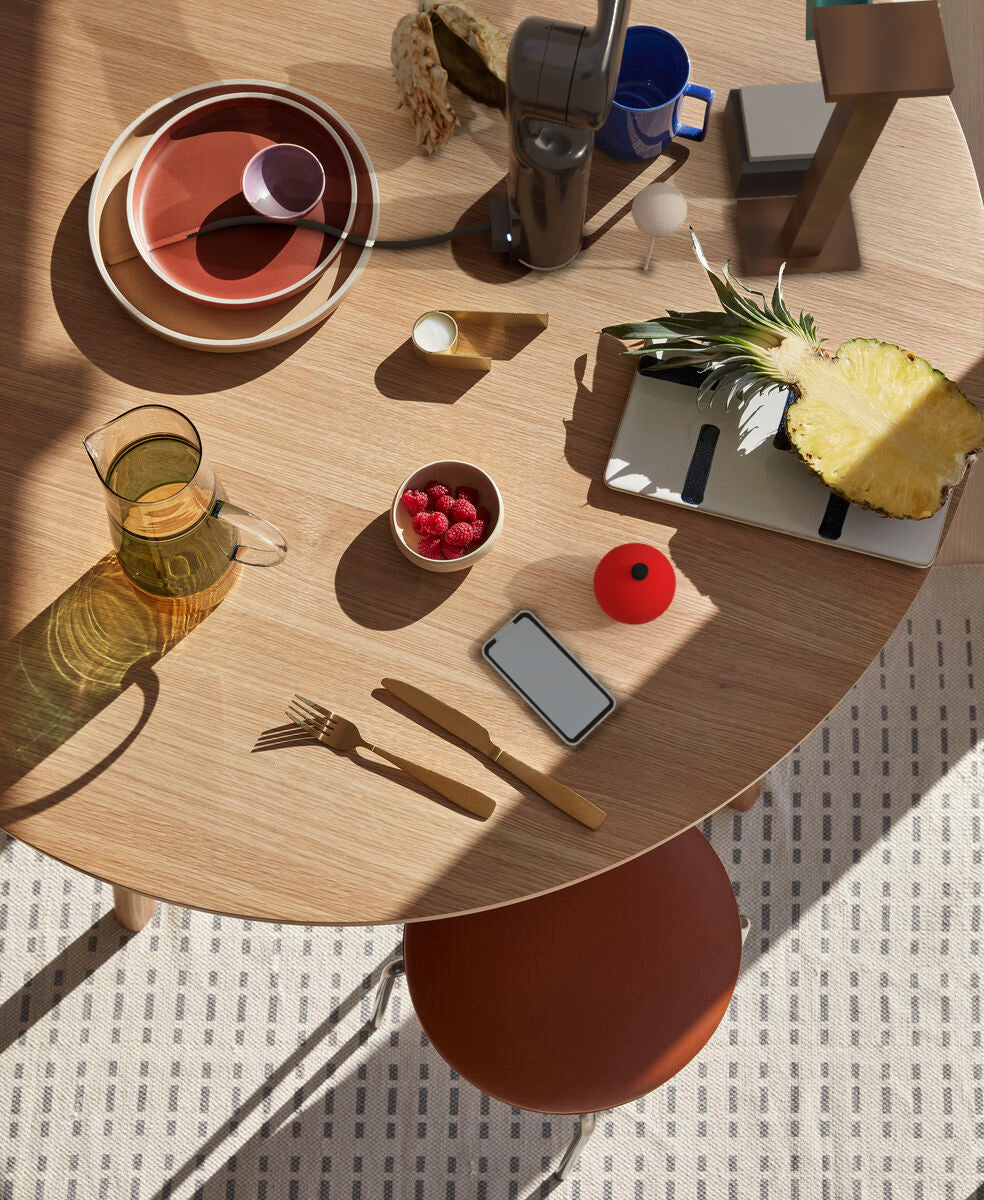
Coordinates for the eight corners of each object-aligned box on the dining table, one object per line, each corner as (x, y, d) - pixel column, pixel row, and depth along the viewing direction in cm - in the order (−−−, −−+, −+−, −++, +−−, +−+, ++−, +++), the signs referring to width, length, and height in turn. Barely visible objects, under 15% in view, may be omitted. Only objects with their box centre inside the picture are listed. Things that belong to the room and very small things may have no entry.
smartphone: (571, 749, 120) (477, 650, 122) (571, 750, 120) (477, 652, 123) (620, 703, 121) (525, 606, 123) (619, 704, 122) (525, 607, 124)
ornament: (659, 642, 123) (672, 621, 114) (581, 620, 124) (588, 598, 114) (677, 567, 125) (692, 541, 116) (601, 547, 126) (609, 519, 116)
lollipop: (672, 249, 136) (692, 173, 121) (669, 292, 134) (689, 220, 120) (621, 245, 136) (636, 168, 121) (618, 288, 134) (632, 215, 120)
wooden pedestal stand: (744, 277, 135) (818, 95, 104) (734, 205, 137) (803, 7, 106) (858, 269, 135) (965, 86, 104) (846, 198, 137) (947, -2, 106)
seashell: (436, 86, 120) (556, 50, 124) (367, -28, 125) (485, -58, 129) (427, 199, 137) (533, 165, 141) (366, 95, 142) (470, 65, 146)
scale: (733, 198, 138) (744, 168, 132) (722, 116, 141) (731, 83, 135) (845, 191, 138) (860, 161, 132) (831, 109, 141) (845, 76, 135)
